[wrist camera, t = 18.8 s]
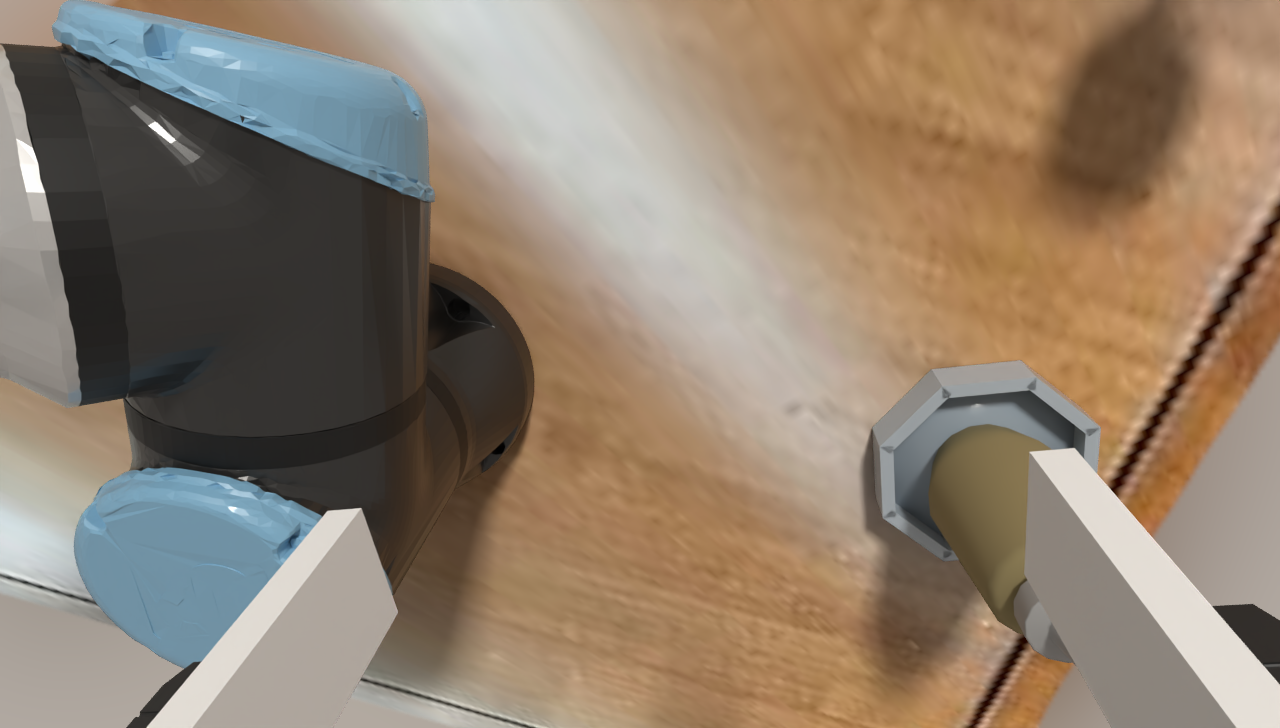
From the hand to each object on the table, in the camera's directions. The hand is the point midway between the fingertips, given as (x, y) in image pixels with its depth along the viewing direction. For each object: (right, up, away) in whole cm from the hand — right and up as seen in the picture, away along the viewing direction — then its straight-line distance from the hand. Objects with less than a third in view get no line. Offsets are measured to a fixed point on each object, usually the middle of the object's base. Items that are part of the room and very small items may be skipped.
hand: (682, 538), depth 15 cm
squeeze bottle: (+21, -3, +33) cm, 39 cm away
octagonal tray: (+21, -2, +33) cm, 39 cm away
